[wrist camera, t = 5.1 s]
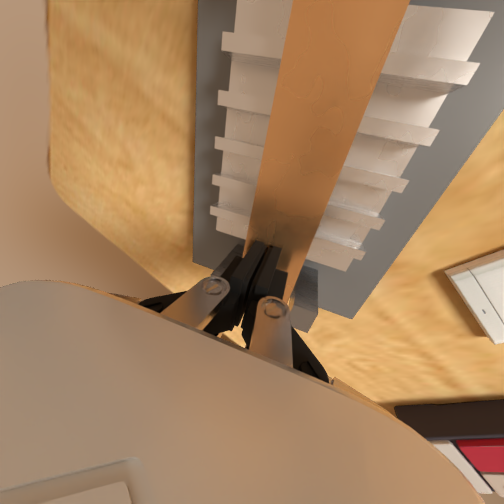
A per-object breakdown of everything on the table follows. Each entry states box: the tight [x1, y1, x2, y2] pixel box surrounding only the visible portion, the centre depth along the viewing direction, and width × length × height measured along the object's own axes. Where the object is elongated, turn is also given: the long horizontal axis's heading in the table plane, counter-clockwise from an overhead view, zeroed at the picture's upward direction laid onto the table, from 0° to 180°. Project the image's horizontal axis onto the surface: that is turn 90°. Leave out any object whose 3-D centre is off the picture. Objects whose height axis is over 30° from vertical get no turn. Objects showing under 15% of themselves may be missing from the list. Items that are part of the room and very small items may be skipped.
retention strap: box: [243, 0, 410, 304], centre depth 9 cm, size 20×4×2 cm, turn 169°
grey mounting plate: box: [193, 0, 504, 319], centre depth 13 cm, size 24×17×2 cm
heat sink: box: [210, 0, 495, 333], centre depth 10 cm, size 20×10×5 cm, turn 169°
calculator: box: [394, 400, 504, 497], centre depth 20 cm, size 11×4×15 cm
